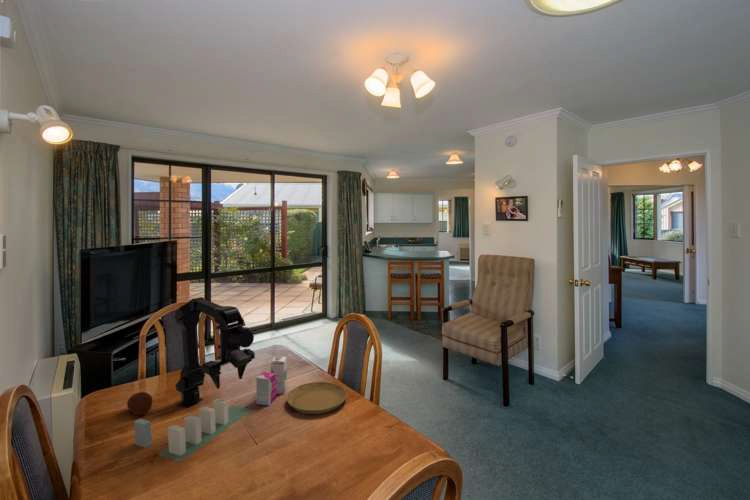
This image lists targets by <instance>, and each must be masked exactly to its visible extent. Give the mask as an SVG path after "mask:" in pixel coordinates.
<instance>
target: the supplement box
mask: <svg viewBox="0 0 750 500" xmlns="http://www.w3.org/2000/svg"><path fill="white" fill-rule="evenodd" d="M255 391H256V392H255V393H256V396H255V397H256V401H255V402H256V404H255V405H256V406H265V407H270V406H271V405H272V404H273V403H274V402H275V401H276V395H277V394H276V374H275V373H271V372H265V371H264V372H262V373H260V374H259V375H258V376H257V377H256V390H255Z"/></svg>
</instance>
